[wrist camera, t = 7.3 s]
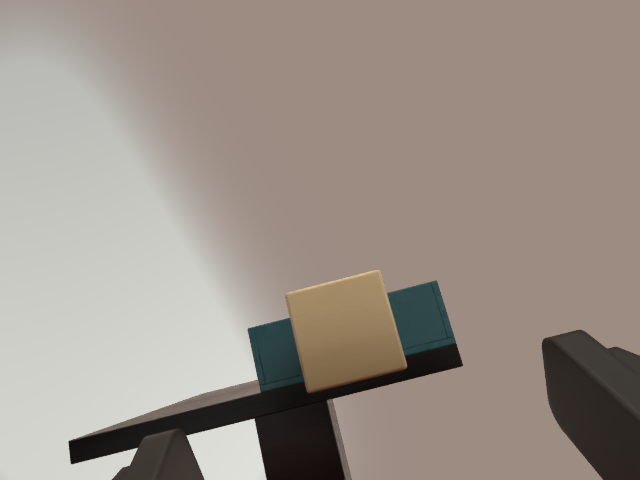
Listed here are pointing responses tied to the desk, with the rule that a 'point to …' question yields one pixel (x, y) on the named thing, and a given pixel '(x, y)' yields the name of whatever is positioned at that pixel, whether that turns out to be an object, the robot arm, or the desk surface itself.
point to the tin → (410, 318)
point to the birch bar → (345, 331)
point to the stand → (266, 421)
